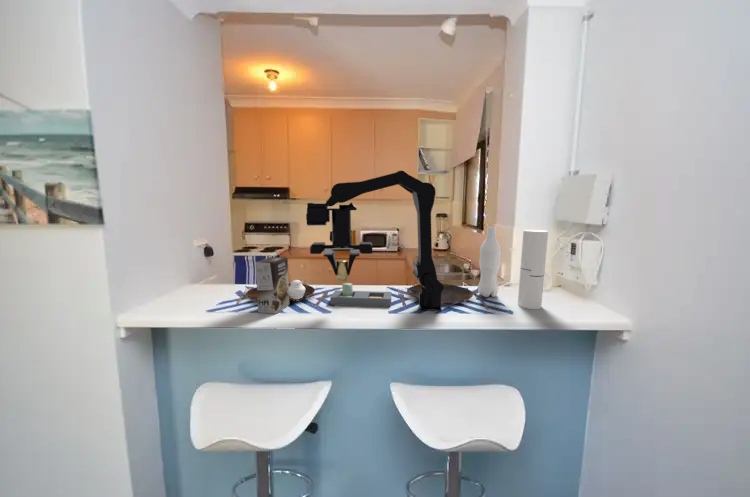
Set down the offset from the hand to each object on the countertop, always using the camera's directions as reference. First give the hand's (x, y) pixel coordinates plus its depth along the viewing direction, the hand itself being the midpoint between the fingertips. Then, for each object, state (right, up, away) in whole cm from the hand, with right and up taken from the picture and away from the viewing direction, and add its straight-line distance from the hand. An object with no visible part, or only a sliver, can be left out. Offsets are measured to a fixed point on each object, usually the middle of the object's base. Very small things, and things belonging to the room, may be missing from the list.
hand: (342, 275), depth 100 cm
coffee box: (-22, -11, +2) cm, 25 cm away
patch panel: (+6, -10, +10) cm, 15 cm away
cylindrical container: (+62, -11, +7) cm, 63 cm away
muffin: (-17, -10, +12) cm, 23 cm away
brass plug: (0, -2, 0) cm, 2 cm away
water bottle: (+51, -9, +17) cm, 55 cm away
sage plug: (+1, -10, +10) cm, 14 cm away
